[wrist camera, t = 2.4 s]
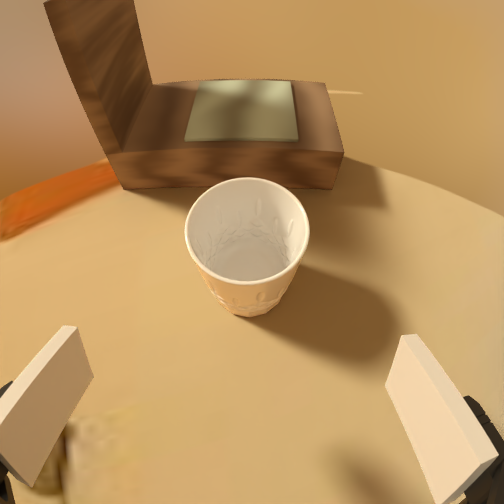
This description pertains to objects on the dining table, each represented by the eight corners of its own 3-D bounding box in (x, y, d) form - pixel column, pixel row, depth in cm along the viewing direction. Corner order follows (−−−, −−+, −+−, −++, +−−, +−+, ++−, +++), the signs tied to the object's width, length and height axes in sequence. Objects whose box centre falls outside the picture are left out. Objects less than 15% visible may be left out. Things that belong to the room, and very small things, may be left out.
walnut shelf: (318, 117, 38) (344, -45, 17) (331, 189, 33) (390, -24, 11) (148, 119, 39) (109, -33, 17) (123, 189, 33) (43, 3, 11)
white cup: (297, 252, 29) (316, 188, 20) (282, 332, 26) (299, 297, 17) (218, 237, 30) (205, 169, 21) (196, 312, 27) (167, 268, 18)
